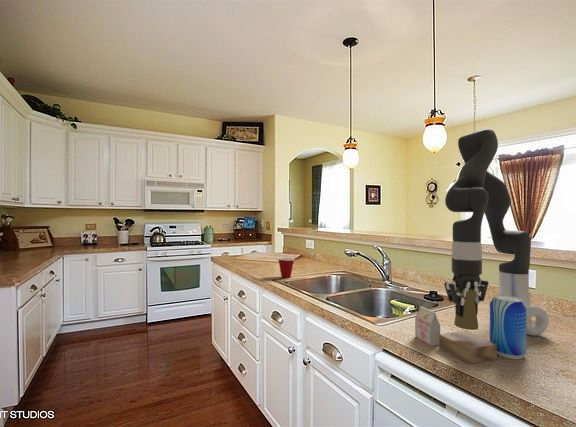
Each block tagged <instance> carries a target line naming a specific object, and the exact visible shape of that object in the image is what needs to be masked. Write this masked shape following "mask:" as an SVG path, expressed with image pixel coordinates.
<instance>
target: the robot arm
mask: <svg viewBox="0 0 576 427" xmlns="http://www.w3.org/2000/svg"><path fill="white" fill-rule="evenodd" d="M457 147H458V149H459V150H458V151H459V153H460V156H461V158H462V160H463V162H464V164H463V166H462V167H461V169H460V171H459V175H458V179H457V180H456V181H455V182H454V183H453V185H452V186H451V187H450V188H449V189H448V190H447V193H446V195H445V200H444V201H445V202H444V203H445V206H446V208H447V209H448V211H449V212H453V213H472V215H471V216H470V217H469V218H467V219H460V220H457V221H456V220H455V221H454V222H453V223H452V244H451V272H452V273H453V277H452V280H450V281H449V282H447V281H445V282H444V284H443V285H444V288H445V291H446V292H445V293H446V295H447V297H448V301H449V302H450V303H454V305H455V308H454V310H455V315H458V316H462V318H463V312H464V302H465V300H464V297H466V293H467V291H468V290H469V289H474V290H475V291H476V293H477V297H476V299H475V300H474V301H475V307H476V314H477V315H478V313H479V309H478V308H479V307H478V306H479V304H480V302H484V301H485V298H486V295H487V294H486V293H487V290H488V286H489V281H488V280H484V279H482V278H481V275H482V274H483V249H482V248H483V247H482V223H483V219H484V215H485V218H486V221H487V224H488V227H489V231H490V236H491V239H492V244H493V246H494V248H495V250H496V251H497V252H498V253H500V254H504V255H505V254H507V255H514V257H513V259H512V260H510V261H506V262H501V263H499V265H498V295H509V296H514V297H518V298H520V299H522V303H523V304H524V306H525V307H526V306H529V305H531V292H530V281H529V280H530V277H529V276H530V275H529V274H530V267H531V266H530V265H531V251H532V250H531V249H532V238H531V235H530V234H529V232H528V231H525V230H524V231H523V230H512V229H511V230H507V229H506V228H505V225H504V218H505V216H506V215H507V213H508V211H509V209H510V207H511V202H512V199H511V196H510V194H509V191H508V187H507V185H506V183H505V182H504V181H503V180H502V179H500V178H499V177H497V176H495V174H493V173H491V172H489V171H488V169H489V167H490V165H491V163H492V161H493V160H494V157H495V156H496V154H497V151H498V148H499V141H498V137H497V134H496V132H495V131H494V130H493V129H491V128H485V129H480V130H477V131H474V132H471V133H468V134H465V135H462V136H460V137H459V138H458V140H457ZM457 290H459V291H462V292H463V293H462V294H460V293H457ZM457 295H458V296H460V300H459V298H458V296H457Z"/></svg>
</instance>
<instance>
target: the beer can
mask: <svg viewBox="0 0 576 427" xmlns="http://www.w3.org/2000/svg"><path fill="white" fill-rule="evenodd" d="M489 341H490V342H492V343H494V344H497V355H498V356H500V357H502V358H506V359H510V360H521V359H523V358H524V357H525V356H526V355H527V334H526V307H525V306H524V304H523V303H522V299H520V298H518V297H514V296H509V295H499V294H495V295H493V298H492V299H491V301H490V302H489Z"/></svg>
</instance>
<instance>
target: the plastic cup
mask: <svg viewBox="0 0 576 427" xmlns="http://www.w3.org/2000/svg"><path fill="white" fill-rule="evenodd" d="M277 260H278V264H279V271H280V276H281V278H282V277H284V278H283V279H291V277H292V273H293V272H292V271H293V266H294V262H295V261H296V259H295V258H292V257H278V258H277Z"/></svg>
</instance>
